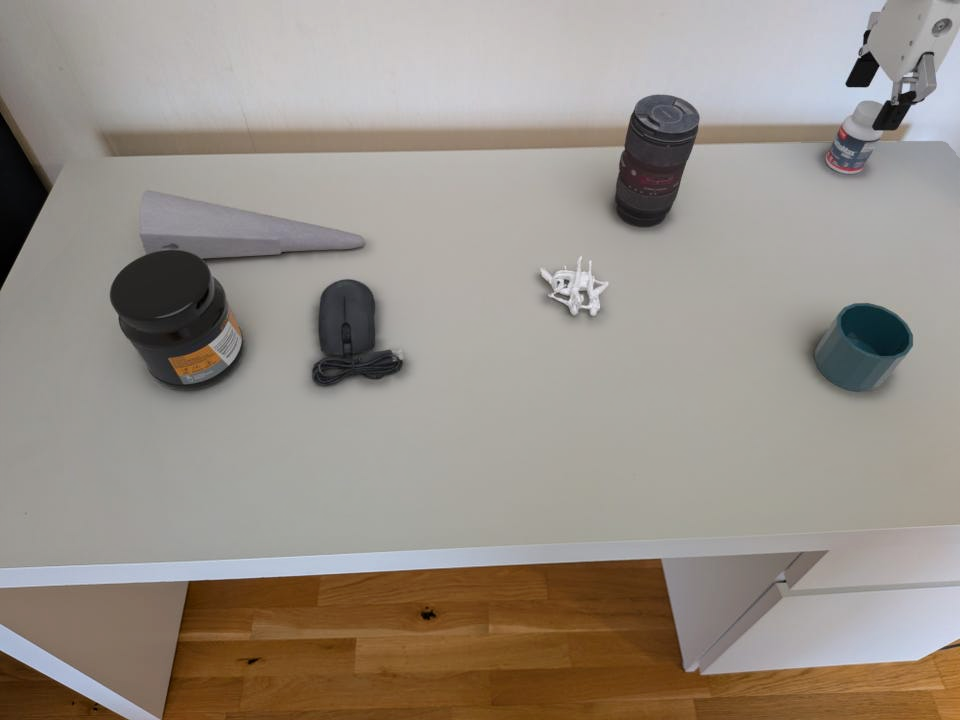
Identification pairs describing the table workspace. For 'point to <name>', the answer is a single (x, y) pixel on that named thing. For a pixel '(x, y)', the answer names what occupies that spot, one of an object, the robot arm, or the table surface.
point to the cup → (863, 347)
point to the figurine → (576, 288)
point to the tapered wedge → (228, 230)
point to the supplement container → (177, 319)
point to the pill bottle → (855, 139)
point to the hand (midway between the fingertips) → (869, 107)
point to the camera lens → (654, 158)
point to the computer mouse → (350, 334)
